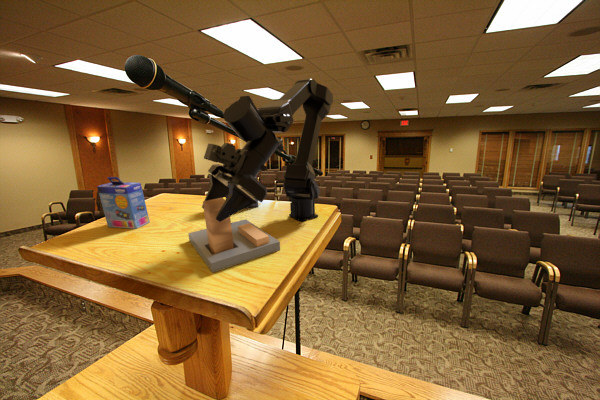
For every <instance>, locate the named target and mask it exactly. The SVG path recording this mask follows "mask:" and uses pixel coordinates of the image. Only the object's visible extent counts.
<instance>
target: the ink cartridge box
mask: <svg viewBox="0 0 600 400" xmlns="http://www.w3.org/2000/svg"><path fill="white" fill-rule="evenodd" d="M106 178H107V179H108V181H110V182H108V183H103V184H100V185H98V186H97V185H96V189H97V192H98V196H99V198H100V202H101V207H102V210H103V213H104V217H105V221H106V224H107V227H108V228H119V229H133V230H136V229H138V228H141V227H143V226H145V225H147V224H149V223H150V216H149V213H148V209H147V205H146V201H145V196H144V192H143V187H142V183H141V182H131V181H130V182H124V181H123V180H121V178H120V177H117V176H107V177H106Z"/></svg>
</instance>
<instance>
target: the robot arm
mask: <svg viewBox="0 0 600 400" xmlns="http://www.w3.org/2000/svg"><path fill="white" fill-rule="evenodd" d="M333 102H334V96H333V93H332V92H331V89H329V88H328V87H327V86H325V85H323V84H321V83H318V82H317V81H316V80H315V79H314V78H313V79H312V78H304V79H303V78H302V79H299V80H297V81H295V83H294V85H293V86H292V87H290V88H289V89H288V90H287V91H286V92H285V93H284V94H283V95H282V96H280V97H279V98H278V99H277V100H275V101H273V102H269V103H265V104H264V105H262V106H259V107H258V108H257V107H256V105H255V104H254V102H253V99H252V98H251V96H250V95H243V96H240V97H239V99H238V100H236V101H235V102H233V103H232V104H230V105H229V106H228V107H227V108H225V110H224V112H223V119H224V121H225V123H226V124H227V125H228V126H229V127H230V128H231V129H232V130H233V132H235V134H236V135H237V136H238V137H239V138H240V139H241V141H243V142H246V144H245V145H243V146H242V148H236V145H234V144H231V143H229V142H224V143H223V144H222V145H219V144H215V143H207V146H206V150H205V153H204V156H203V159H204V160H207V161H211V162H213V163H216V164H212V165H211V166H210V167H209V168H208V170H207V172H208V174H207V175H208V177H209V183H210V184H209V187H208V191H207V192H206V196H205V198H204V200H203V201H207V200H212V199H218V198H223V199H224V198H225V202H224V204H223V206H222V207H221V209H220V211H219V213H218V214H217V216H216V220H218V221H219V222H221V221H223V220H224V219H226V218H228V217H230V218H231V217H232V216H233V215H235V214H237V213H239V212H240V211H243V210H245V209H247V208H246V207H248V206H250V205H252V204H256V203H257V202H256V201H255V200H257V201H258V203H259V202H260V203H263V201H265V199H266V197H267V195H268V188H267V187H266V186H264V184H262V183H261V182H260V181H259V180H258V179H257V176H258V174H259V173H260V172H261V171H262V172H265V171H266V170H267V166H266V164H267V162H268V161H269V160H270V158H271V157H272V155H273V154H274V153H275V152H276V151H278V152H280V153H284V150H285V149H284V139H282V138H279V137H278V136H277V135H276V134H277V133H280V134H281V133H287V132H288V131H289V129H290V128H291V126H292V125H293V123H294V115H295V113H296V112H297V111H298V110H299V109H300V108H301V107H302V109H303V111H304V114H305V118H304V121H303V126H302V130H301V131H302V132H301V135H300V139H299V144H298V147H297V148H298V149H297V152H296V157H295V159H294V160H295V161H294V162H293V163H292V164H291V163H288V164H287V165H286V168H285V174H284V175H283V188H284V191H285V192H284V193H285V195H286V198H290V201H291V202H290V204H289V205H290V206H289V207H290V209H289V210H290V213H289V214H288V215H289V217H290V218H293V219H295V220H297V221H299V222H304V220H305V221H307V220H311V218H312V219H316V218H318V217H319V214H318V213H316V212H315V210H316V207H315V205H316V202H315V200H317V199H319V197H320V193H321V192H320V191H321V189H320V187H319V184H318V183H317V181H316V173H315V170H314V168H313V162H314V158H315V153H316V147H317V143H318V140H319V135H320V132H321V131H320V129H321V125H322V121H323V120H324V119H325V118H326V117H327V116H328V115H329V113H330V111H331V107H332V105H333ZM217 163H218V164H217ZM255 177H256V179H257V180H256V179H255ZM236 185H237V186H236ZM227 186H228V187H227ZM227 194H229V195H228V197H227V199H226V197H225V196H226V195H227ZM201 208H202V209H203V210H204V207H203V204H202V206H201Z"/></svg>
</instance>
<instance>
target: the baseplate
mask: <svg viewBox="0 0 600 400" xmlns="http://www.w3.org/2000/svg"><path fill="white" fill-rule="evenodd" d="M231 228H232V237H233V246H234V249H230V250H227V251H224V252H220V253H217V254H214V255H212V254H211V253H210V250H209V243H208V235H207V228H204V229H200V230H195V231H191V232H188V239H189V242H190V243H191V245H192V246H193V247H194V249H195V251H196V252H197V253H198V254H199V256H200V258H201V259H202V260H203V262H204V263H205V264H206V266H207V267H208V269H209V270H210V271H211V273H216V272H218V271H222V270H225V269H228V268H231V267H233V266H236V265H239V264H243V263H245V262H248V261H251V260H254V259H257V258H260V257H263V256H266V255H269V254H272V253H274V252H278V251H280V250H281V243H280V240H278V239H277V238H275V237H274V236H272V235H270V234H269V233H268V232H266V231H264V230H263V229H261V228H260V227H259V226H257V225H255V224H254V223H252V222H250V221H249V220H248V219H247V218H245V219H241V220H238V221H237V220H236V221H233V222H231Z"/></svg>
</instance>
